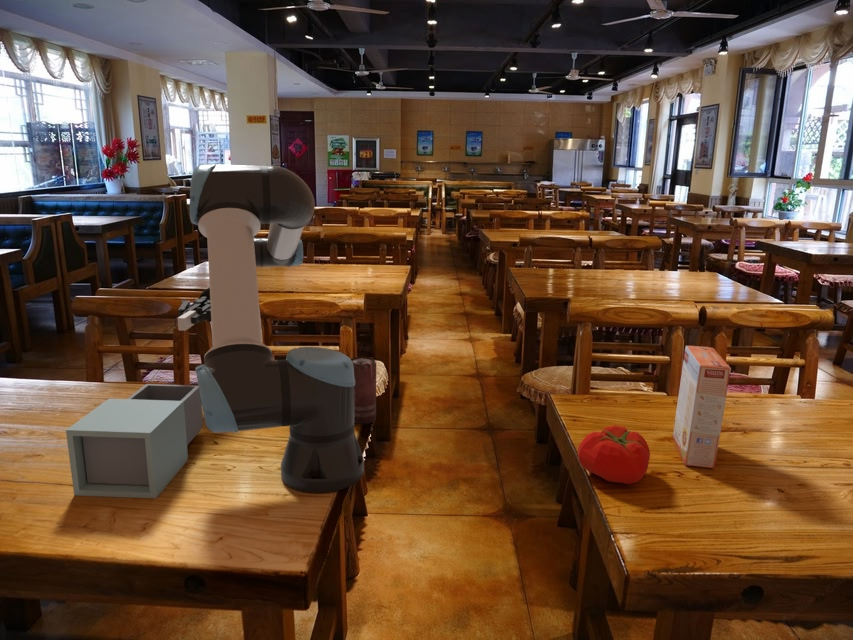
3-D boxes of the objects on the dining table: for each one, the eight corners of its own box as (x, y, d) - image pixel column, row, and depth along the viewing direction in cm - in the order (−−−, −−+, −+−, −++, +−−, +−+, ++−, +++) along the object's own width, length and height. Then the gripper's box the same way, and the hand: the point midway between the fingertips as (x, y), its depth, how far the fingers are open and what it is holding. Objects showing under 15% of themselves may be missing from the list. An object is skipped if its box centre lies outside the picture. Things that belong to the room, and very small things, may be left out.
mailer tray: (149, 425, 132) (146, 383, 130) (203, 427, 132) (200, 385, 130) (87, 482, 109) (82, 433, 107) (152, 485, 109) (147, 435, 107)
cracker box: (716, 470, 122) (732, 367, 117) (683, 466, 123) (698, 364, 118) (701, 439, 136) (715, 346, 130) (671, 436, 137) (684, 343, 131)
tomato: (599, 499, 111) (604, 453, 109) (565, 465, 123) (569, 423, 120) (667, 490, 115) (673, 445, 112) (628, 458, 126) (633, 417, 124)
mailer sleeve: (115, 457, 121) (108, 398, 118) (188, 459, 121) (183, 400, 118) (74, 495, 107) (65, 430, 104) (156, 498, 107) (150, 432, 104)
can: (363, 428, 137) (363, 366, 133) (342, 420, 141) (342, 360, 137) (382, 419, 142) (382, 359, 138) (361, 412, 145) (361, 353, 142)
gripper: (246, 314, 157) (213, 342, 134) (194, 313, 157) (152, 340, 134) (245, 285, 155) (211, 308, 132) (192, 283, 155) (149, 306, 132)
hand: (181, 324), depth 133 cm, fingers closed
